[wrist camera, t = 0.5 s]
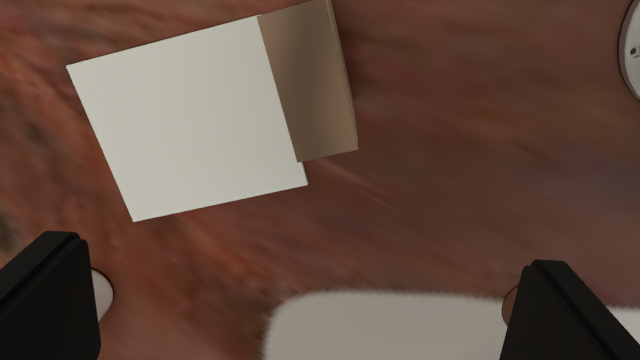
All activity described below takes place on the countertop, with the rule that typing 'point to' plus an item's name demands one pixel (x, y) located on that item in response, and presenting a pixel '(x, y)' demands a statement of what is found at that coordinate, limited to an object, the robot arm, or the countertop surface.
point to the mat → (190, 120)
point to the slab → (311, 78)
